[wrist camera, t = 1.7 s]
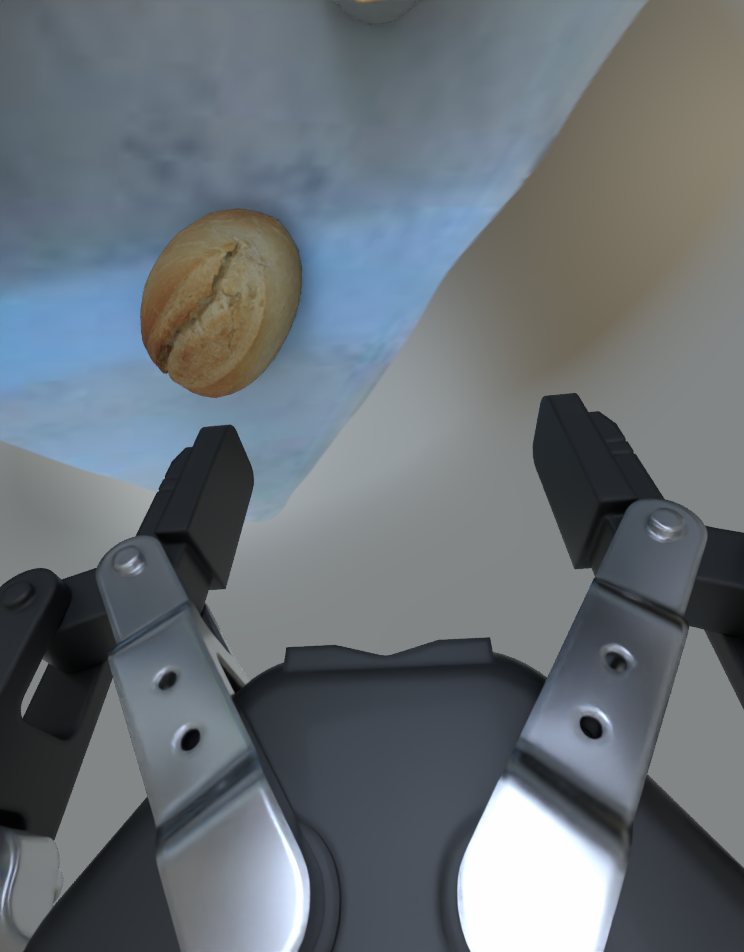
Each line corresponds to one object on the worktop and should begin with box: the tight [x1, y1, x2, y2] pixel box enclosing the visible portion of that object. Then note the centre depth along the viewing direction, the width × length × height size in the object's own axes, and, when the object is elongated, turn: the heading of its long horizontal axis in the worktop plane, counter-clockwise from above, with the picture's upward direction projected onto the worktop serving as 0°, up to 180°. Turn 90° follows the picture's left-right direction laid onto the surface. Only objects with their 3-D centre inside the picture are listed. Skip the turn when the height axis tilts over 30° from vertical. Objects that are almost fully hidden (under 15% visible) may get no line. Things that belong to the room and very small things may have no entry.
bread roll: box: [140, 209, 302, 398], centre depth 32 cm, size 10×15×8 cm, turn 145°
